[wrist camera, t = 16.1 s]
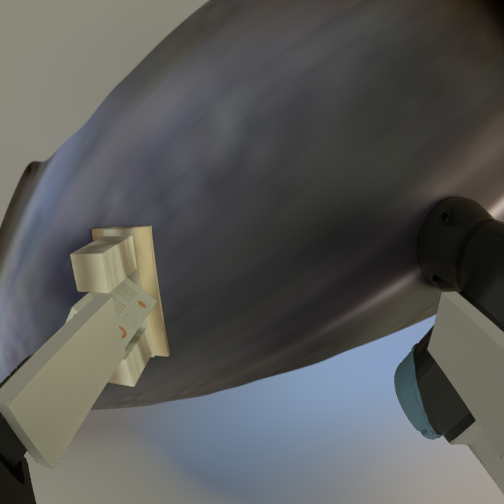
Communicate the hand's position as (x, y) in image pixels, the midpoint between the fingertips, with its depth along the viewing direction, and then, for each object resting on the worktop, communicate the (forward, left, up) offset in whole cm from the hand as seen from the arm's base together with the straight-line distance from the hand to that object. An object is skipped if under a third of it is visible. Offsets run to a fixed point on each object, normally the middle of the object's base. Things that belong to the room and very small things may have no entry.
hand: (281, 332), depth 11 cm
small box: (+22, +13, -29) cm, 39 cm away
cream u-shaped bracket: (+22, +13, -31) cm, 40 cm away
